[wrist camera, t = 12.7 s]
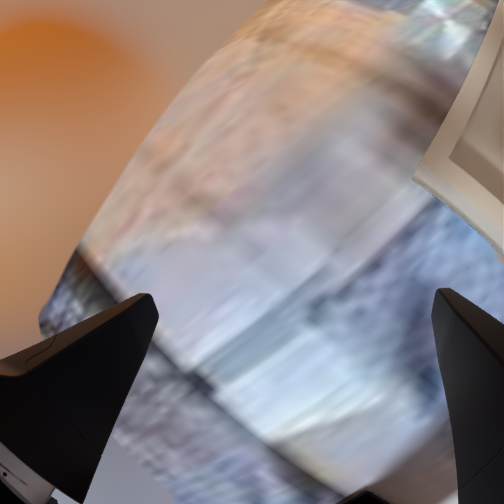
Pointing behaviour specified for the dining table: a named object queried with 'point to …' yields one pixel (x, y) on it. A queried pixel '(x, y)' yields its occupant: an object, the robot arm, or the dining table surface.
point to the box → (473, 144)
